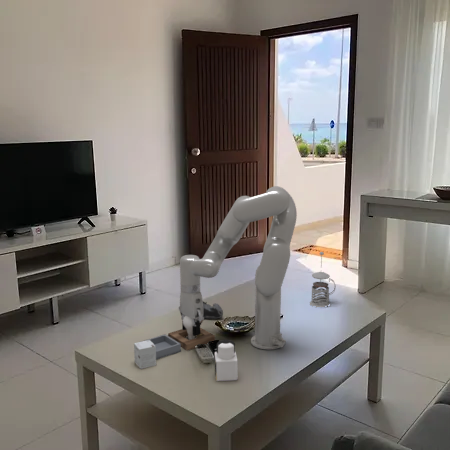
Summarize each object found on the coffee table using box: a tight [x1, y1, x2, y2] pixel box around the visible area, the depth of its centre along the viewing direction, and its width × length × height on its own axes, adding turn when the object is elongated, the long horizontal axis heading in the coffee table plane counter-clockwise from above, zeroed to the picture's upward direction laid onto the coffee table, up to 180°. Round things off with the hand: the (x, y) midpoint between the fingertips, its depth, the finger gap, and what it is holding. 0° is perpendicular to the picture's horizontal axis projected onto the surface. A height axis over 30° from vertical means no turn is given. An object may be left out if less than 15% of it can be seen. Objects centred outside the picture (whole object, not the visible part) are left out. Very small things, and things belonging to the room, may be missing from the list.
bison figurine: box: [203, 300, 224, 320], centre depth 218 cm, size 12×7×10 cm
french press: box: [309, 251, 336, 308], centre depth 230 cm, size 10×12×25 cm
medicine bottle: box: [214, 339, 239, 382], centre depth 166 cm, size 7×7×12 cm
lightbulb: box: [183, 315, 198, 340], centre depth 193 cm, size 6×6×11 cm
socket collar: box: [167, 327, 216, 352], centre depth 194 cm, size 13×13×2 cm
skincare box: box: [133, 339, 157, 370], centre depth 175 cm, size 6×6×7 cm
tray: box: [140, 334, 182, 361], centre depth 185 cm, size 11×11×3 cm
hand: (191, 331), depth 193 cm, fingers closed on lightbulb, 6 cm apart
